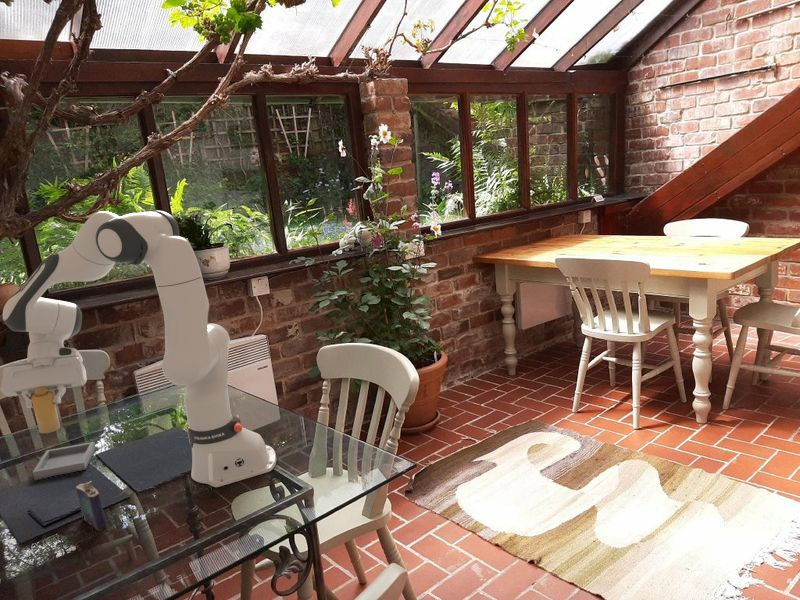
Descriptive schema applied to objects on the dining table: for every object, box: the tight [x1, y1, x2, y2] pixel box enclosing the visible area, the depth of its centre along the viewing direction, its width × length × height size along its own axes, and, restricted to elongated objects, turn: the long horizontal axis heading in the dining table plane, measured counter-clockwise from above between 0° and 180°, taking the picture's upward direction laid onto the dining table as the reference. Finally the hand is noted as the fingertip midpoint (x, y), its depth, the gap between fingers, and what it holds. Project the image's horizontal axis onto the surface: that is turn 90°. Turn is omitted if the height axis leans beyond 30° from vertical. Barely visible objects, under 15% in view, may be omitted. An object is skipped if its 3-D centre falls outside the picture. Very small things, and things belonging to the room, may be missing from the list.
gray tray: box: [32, 441, 97, 481], centre depth 173 cm, size 13×13×2 cm
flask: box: [75, 480, 108, 531], centre depth 143 cm, size 9×3×11 cm, turn 50°
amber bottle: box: [30, 386, 61, 434], centre depth 161 cm, size 5×5×12 cm
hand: (43, 405), depth 160 cm, fingers closed on amber bottle, 5 cm apart
